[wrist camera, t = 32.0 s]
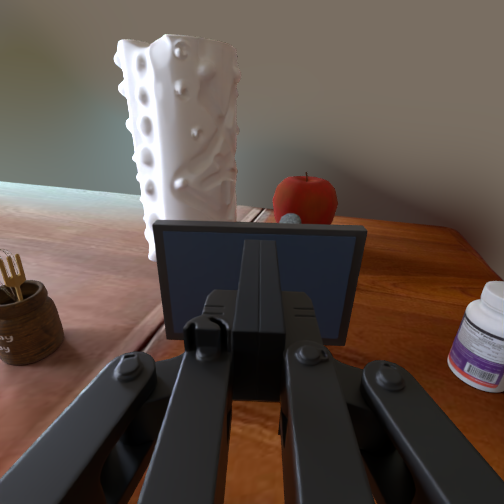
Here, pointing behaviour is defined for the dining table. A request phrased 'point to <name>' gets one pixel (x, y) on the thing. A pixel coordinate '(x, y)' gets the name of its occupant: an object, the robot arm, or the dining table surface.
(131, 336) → the dining table surface
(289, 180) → the apple
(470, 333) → the pill bottle
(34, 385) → the dining table surface
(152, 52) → the vase
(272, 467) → the dining table surface
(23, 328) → the utensil holder
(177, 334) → the monitor screen
